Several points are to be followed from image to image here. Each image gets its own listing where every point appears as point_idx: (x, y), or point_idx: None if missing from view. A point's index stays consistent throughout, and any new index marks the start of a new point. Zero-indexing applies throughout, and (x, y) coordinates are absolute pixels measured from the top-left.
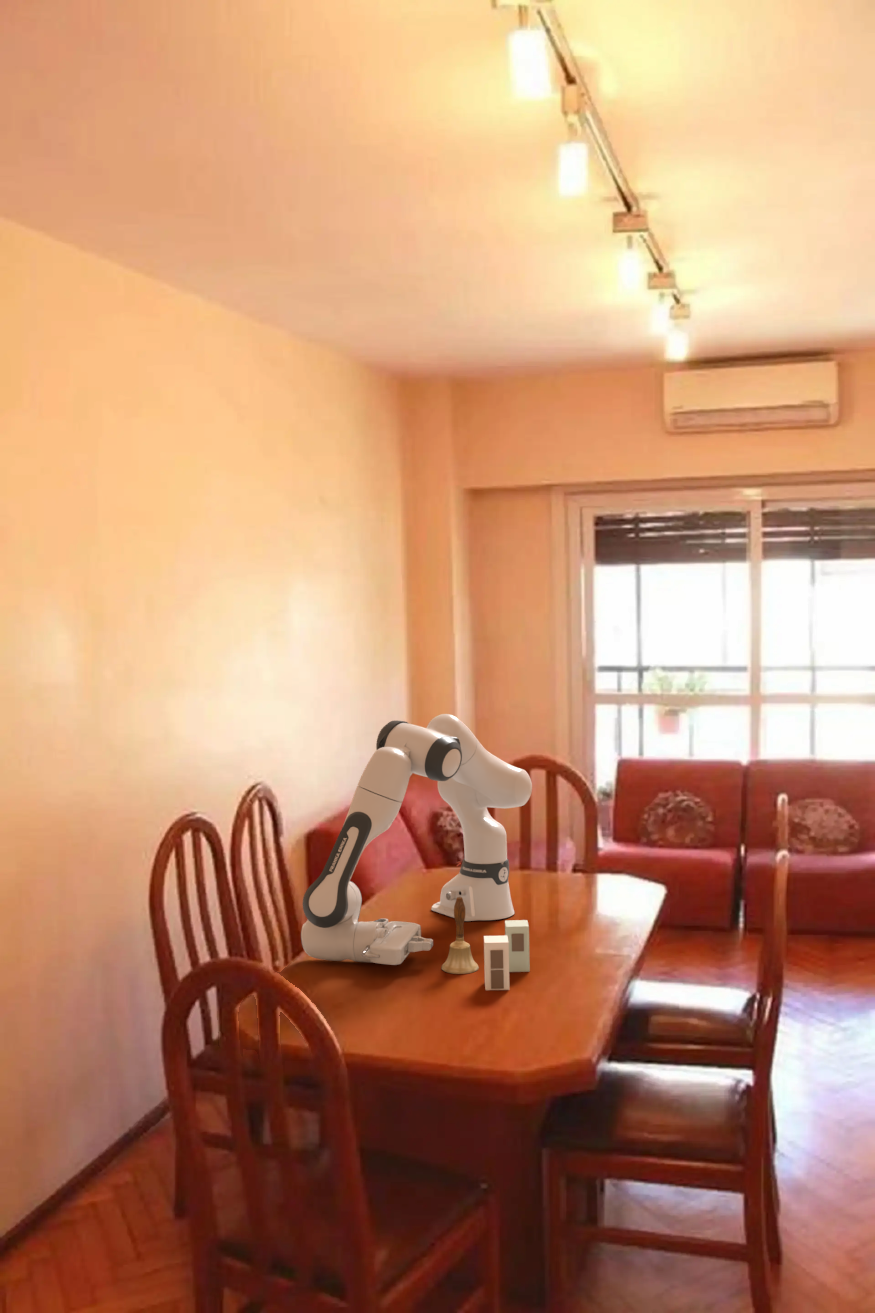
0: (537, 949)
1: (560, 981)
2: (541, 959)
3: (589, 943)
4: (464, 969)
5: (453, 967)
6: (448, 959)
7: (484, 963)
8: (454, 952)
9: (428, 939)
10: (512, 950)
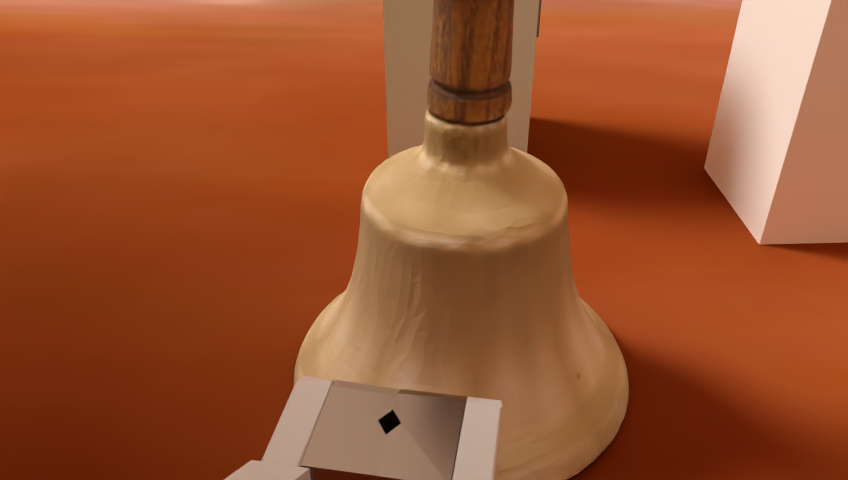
0: (141, 93)
1: (630, 59)
2: (311, 87)
3: (132, 9)
4: (595, 313)
5: (599, 369)
6: (520, 367)
7: (843, 110)
8: (560, 258)
9: (322, 412)
10: (537, 28)
